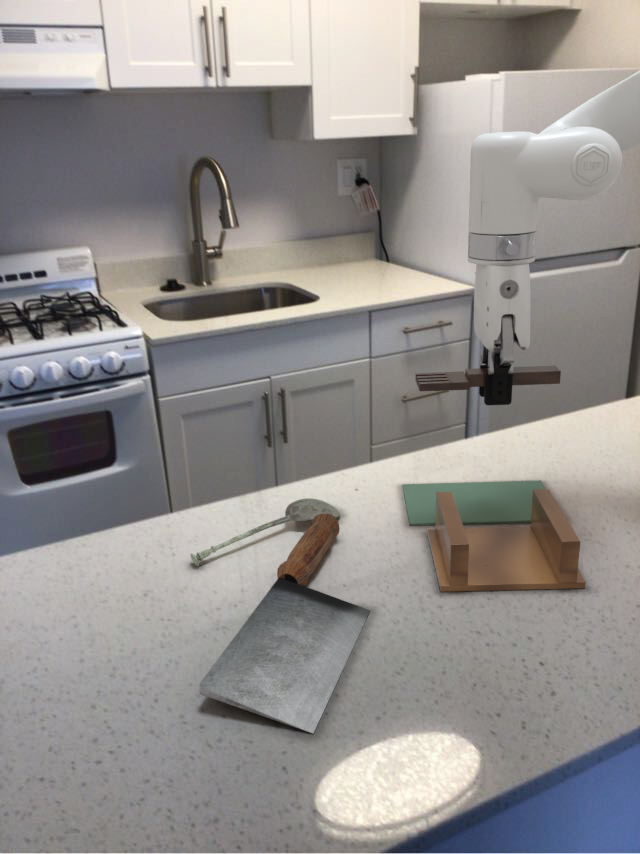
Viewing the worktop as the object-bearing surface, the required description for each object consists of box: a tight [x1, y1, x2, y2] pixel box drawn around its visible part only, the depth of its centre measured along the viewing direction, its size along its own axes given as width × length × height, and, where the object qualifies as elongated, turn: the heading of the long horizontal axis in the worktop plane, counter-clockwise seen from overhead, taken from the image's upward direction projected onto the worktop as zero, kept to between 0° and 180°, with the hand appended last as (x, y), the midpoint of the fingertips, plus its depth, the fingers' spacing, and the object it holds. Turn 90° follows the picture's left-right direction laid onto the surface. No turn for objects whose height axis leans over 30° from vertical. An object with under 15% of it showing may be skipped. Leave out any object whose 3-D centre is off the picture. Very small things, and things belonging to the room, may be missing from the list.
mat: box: [401, 479, 546, 526], centre depth 104 cm, size 20×12×1 cm, turn 89°
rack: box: [426, 488, 587, 593], centre depth 89 cm, size 16×13×6 cm
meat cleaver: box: [198, 514, 371, 734], centre depth 81 cm, size 34×11×4 cm, turn 162°
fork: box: [414, 365, 562, 392], centre depth 92 cm, size 17×4×2 cm, turn 90°
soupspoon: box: [190, 497, 341, 567], centre depth 97 cm, size 22×3×7 cm
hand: (494, 398), depth 93 cm, fingers closed on fork, 2 cm apart
